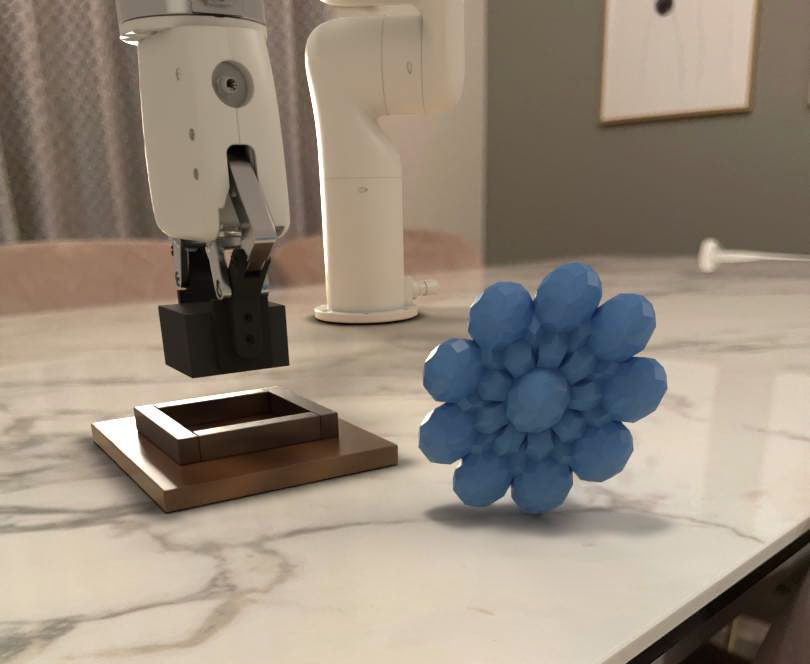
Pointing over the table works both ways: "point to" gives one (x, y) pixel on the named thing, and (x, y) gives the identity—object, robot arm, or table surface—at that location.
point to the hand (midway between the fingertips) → (227, 358)
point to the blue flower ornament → (541, 390)
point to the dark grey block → (209, 338)
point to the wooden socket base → (236, 446)
